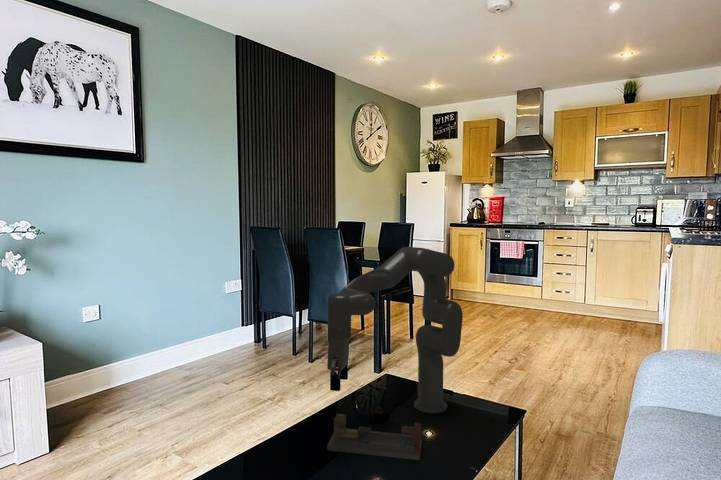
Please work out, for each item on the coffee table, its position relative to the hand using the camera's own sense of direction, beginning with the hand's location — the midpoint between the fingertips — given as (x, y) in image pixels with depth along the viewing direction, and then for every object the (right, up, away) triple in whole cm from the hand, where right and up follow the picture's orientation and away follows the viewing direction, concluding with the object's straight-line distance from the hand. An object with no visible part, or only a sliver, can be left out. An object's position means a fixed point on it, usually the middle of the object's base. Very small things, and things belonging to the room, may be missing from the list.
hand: (339, 384), depth 141 cm
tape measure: (+14, -19, +18) cm, 30 cm away
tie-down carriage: (+4, -18, 0) cm, 18 cm away
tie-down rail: (+12, -20, -1) cm, 23 cm away
